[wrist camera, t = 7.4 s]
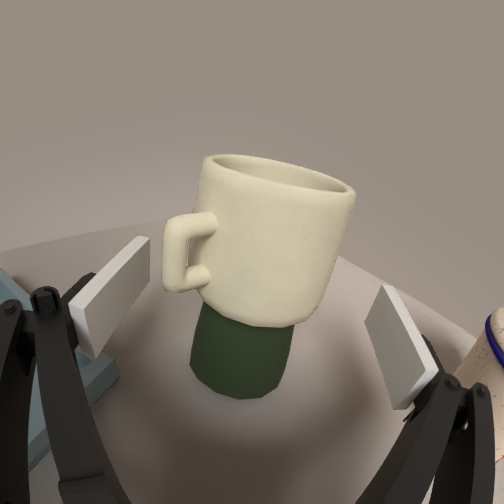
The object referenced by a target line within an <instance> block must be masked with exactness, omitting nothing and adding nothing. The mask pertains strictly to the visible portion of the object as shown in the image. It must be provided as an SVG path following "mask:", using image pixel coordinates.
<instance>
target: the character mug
mask: <svg viewBox="0 0 504 504" xmlns="http://www.w3.org/2000/svg"><path fill="white" fill-rule="evenodd" d="M355 197H356V193H355V191H354V189H353V188H352V187H350V186H348V185H346V184H345V183H343V182H341V181H340V180H337V179H335V178H333V177H330V176H328V175H325V174H323V173H320V172H317V171H313V170H310V169H307V168H303V167H300V166H296V165H292V164H288V163H284V162H279V161H275V160H270V159H264V158H259V157H252V156H244V155H229V154H226V155H211V156H207V157H205V158H204V161H203V165H202V169H201V177H200V183H199V190H198V196H197V199H196V202H195V205H194V208H193V212H192V214H184V215H177V216H175V217H173V218H171V219H169V220H167V223H166V226H165V228H164V232H163V250H162V283H163V286H164V288H165V291H168V292H176V293H182V292H185V291H189V290H192V289H197V291H198V293H199V294H200V296H201V297H202V299H203V300H204V302H203V305H202V309H201V312H200V316H199V319H198V323H197V326H196V330H195V335H194V340H193V345H192V350H191V358H190V366H191V368H192V370H193V371H194V373H195V375H196V377H197V378H198V379H199V380H200V381H201V382H203V383H204V384H205V385H207V386H208V387H209V388H211V389H212V390H213V391H215V392H216V393H220V394H223V395H226V396H229V397H232V398H236V399H251V398H261V397H263V396H264V395H266V394H267V393H269V392H271V391H272V390H274V389H275V388H277V386H278V384H279V382H280V380H281V378H282V375H283V373H284V370H285V367H286V363H287V359H288V355H289V351H290V346H291V340H292V335H293V329H294V324H297V323H301V322H304V321H306V320H307V319H308V318H309V317H310V315H311V314H312V313H313V312H314V311H315V310H316V309H317V307H318V306H319V304H320V302H321V301H322V298H323V295H324V293H325V290H326V287H327V285H328V282H329V279H330V276H331V274H332V271H333V268H334V265H335V262H336V259H337V256H338V253H339V250H340V247H341V244H342V241H343V238H344V235H345V232H346V229H347V226H348V222H349V219H350V216H351V213H352V209H353V206H354V202H355ZM189 240H190V242H189ZM188 242H189V251H188V266H187V267H186V259H187V248H188Z"/></svg>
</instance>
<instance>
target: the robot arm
mask: <svg viewBox="0 0 504 504" xmlns="http://www.w3.org/2000/svg"><path fill="white" fill-rule="evenodd" d="M149 281H150V238H148V237H143V236H137V237H135V238H134V239H133V240H132V241H131V242H130V243H129V244H128V245H127V246H126V247H125V248H123V249H122V250H121V251H120V252H119V253H118V254H117V255H116V256H115V257H114V258H113V259H112V260H111V261H110V262H109V263H108V264H107V265H106V266H104V267H103V268H102V269H101V270H100V271H99V272H98V273H97V274H96V273H92V272H91V273H89V274H87V275H85V276H83V277H82V278H81V279H80V280H79V281H78V282H77V283H76V284H74V285H73V286H72V288H70V289H69V290H68V291H67V292H66V293H65V294H64V295H63V296H62V297H61V298H60V296H59V292H58V290H57V289H55V288H54V287H50V286H44V287H41V288H38V289H36V290H35V291H33V293H32V294H31V295H30V302H31V305H32V308H33V311H30V310H24V309H23V306H22V304H21V302H20V301H19V300H17V299H9V300H6V301H4V302H3V303H2V304H1V305H0V504H30V492H29V478H28V428H29V414H30V403H31V394H32V387H33V380H34V373H35V367H36V363H37V373H38V382H39V390H40V397H41V403H42V409H43V414H44V419H45V424H46V429H47V433H48V437H49V441H50V445H51V449H52V453H53V456H54V460H55V463H56V466H57V470H58V473H59V476H60V481H59V483H58V489H59V492H60V496H61V498H62V501H63V503H64V504H131V502H130V500H129V499H128V497H127V496H126V494H125V493H124V491H123V489H122V487H121V485H120V483H119V481H118V479H117V477H116V475H115V472H114V470H113V468H112V466H111V463H110V461H109V459H108V456H107V454H106V452H105V449H104V447H103V444H102V442H101V439H100V436H99V434H98V431H97V428H96V425H95V422H94V419H93V416H92V413H91V410H90V407H89V404H88V400H87V397H86V393H85V390H84V386H83V382H82V379H81V375H80V371H79V366H78V362H77V357H76V353H75V349H76V347H77V346H78V345H79V347H80V350H81V353H82V354H84V355H87V356H89V357H91V358H94V359H96V358H97V357H98V355H99V354H100V352H101V350H102V349H103V347H104V346H105V344H106V343H107V341H108V340H109V338H110V337H111V335H112V334H113V332H114V331H115V329H116V328H117V326H118V325H119V323H120V322H121V320H122V319H123V317H124V316H125V315H126V313H127V312H128V310H129V309H130V307H131V306H132V304H133V303H134V302H135V300H136V299H137V297H138V296H139V295H140V293H141V292H142V290H143V289H144V288H145V286H146V285H147V283H148V282H149ZM365 325H366V328H367V330H368V333H369V336H370V339H371V342H372V344H373V347H374V350H375V353H376V356H377V359H378V362H379V365H380V368H381V371H382V374H383V377H384V381H385V384H386V387H387V390H388V394H389V397H390V400H391V404H392V407H393V410H404V409H407V408H408V407H409V406H410V405H411V403H412V402H414V405H415V408H414V409H413V410H412V411H411V412H410V413H409V415H408V416H407V417H406V418H405V419H404V420H403V422H405V421H406V420H407V421H406V423H405V425H404V427H403V429H402V431H401V433H400V435H399V437H398V438H397V440H396V442H395V444H394V446H393V447H392V449H391V451H390V452H389V454H388V456H387V457H386V459H385V461H384V462H383V464H382V465H381V467H380V469H379V470H378V472H377V473H376V475H375V476H374V478H373V479H372V481H371V482H370V484H369V485H368V486H367V488H366V489H365V491H364V492H363V493H362V495H361V496H360V497H359V499H358V500H357V501H356V503H355V504H421V503H422V501H423V499H424V497H425V495H426V493H427V491H428V489H429V487H430V485H431V482H432V480H433V478H434V476H435V478H434V483H433V488H432V493H431V497H430V501H429V504H493V494H494V481H495V433H494V419H493V409H492V400H491V394H490V391H489V390H488V388H487V386H485V385H484V384H482V383H479V382H477V383H475V384H474V385H473V386H472V387H471V388H470V389H468V388H464V387H462V386H461V383H460V382H459V380H458V379H457V378H456V377H454V376H453V375H451V374H446V373H445V371H444V369H443V367H442V365H441V363H440V361H439V359H438V357H437V356H436V353H435V351H434V350H433V347H432V346H431V344H430V342H429V341H428V340H427V339H426V337H425V336H424V335H421V334H420V332H419V331H418V329H417V327H416V325H415V323H414V322H413V320H412V318H411V316H410V314H409V313H408V311H407V309H406V308H405V306H404V304H403V302H402V301H401V299H400V297H399V296H398V294H397V292H396V291H395V289H394V287H393V286H388V285H383V284H382V285H381V288H380V290H379V292H378V294H377V297H376V299H375V301H374V303H373V305H372V307H371V309H370V312H369V314H368V316H367V318H366V320H365ZM467 423H468V425H467V428H466V429H465V425H466V424H467Z"/></svg>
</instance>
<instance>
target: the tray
mask: <svg viewBox="0 0 504 504" xmlns="http://www.w3.org/2000/svg"><path fill="white" fill-rule="evenodd" d="M9 299H17V300H19V301H20V302H21V304H22V306H23V309H24V310H30V311H33V308H32V305H31V302H30V295H29V294H28V293H27V292H26V291H24V290H23V289H22V288H21V287H20V286H19V285H18V284H17V283H16V282H15V281H14V280H13V279H12V278H11V277H10V276H9V275H8V274H7V273H6V272H5V271H4V270H3V269H2V268H0V305H1V304H2V303H3V302H4V301H6V300H9ZM75 353H76V357H77V362H78V366H79V371H80V375H81V379H82V382H83V386H84V390H85V393H86V397H87V400H88V404H89V407H91V406H92V405H93V404H94V403H95V402H96V401H97V400H98V399H99V398H100V396H101V395H102V394H103V393H104V392H105V391H106V390H107V389H108V388H109V387H110V386H111V385H112V384H113V383H114V382H115V381H116V380H117V379H118V378H119V375H118V371H117V367H116V363H115V359H114V358H112V357H111V356H109V355H108V354H106V353H104V352H103V351H101V352H100V354H99V355H98V357H97V358H96V359H94V358H91V357H89V356H87V355H84V354H82V353H81V350H80V347H79V345H78V346H77V347H76V349H75ZM50 449H51V445H50V441H49V437H48V433H47V429H46V424H45V419H44V414H43V409H42V403H41V397H40V390H39V382H38V373H37V363H36V367H35V373H34V380H33V387H32V394H31V403H30V414H29V428H28V473H29V472H30V471H31V470H32V468H33V467H34V466H35V465H36V464H37V463H38V462H39V461H40V460H41V459H42V458H43V457H44V456H45V455H46V453H47V452H48V451H49V450H50Z"/></svg>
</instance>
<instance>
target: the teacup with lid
mask: <svg viewBox="0 0 504 504" xmlns="http://www.w3.org/2000/svg"><path fill="white" fill-rule="evenodd" d="M452 375H453V376H454V377H456V378H457V379H458V380H459V382H460V383H461V386H462V387H464V388H468V389H470V388H471V387H472V386H473V385H474V384H475V383H477V382H479V383H482V384H484V385H485V386H487V388H488V390H489V391H490V394H491V400H492V409H493V419H494V433H495V464H496V463H498V462H499V461H500V460H502V459H503V458H504V307H502V308H499V309H497V310H495V311H494V312H493V313H492V314H491V315H490V316H489V317H488V318H487V320H486V323H485V329H484V330H483V332H482V334H481V335H480V337H479V339H478V340H477V341H476V343H475V344H474V346H473V347H472V349H471V350H470V352H469V353H468V354H467V356H466V357H465V359H464V360H463V361H462V363H461V364H460V365H459V367H458V368H457V369H456V371H455V372H454V373H453V374H452ZM467 425H468V423H467V424H466V425H465V429H466V428H467Z"/></svg>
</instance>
